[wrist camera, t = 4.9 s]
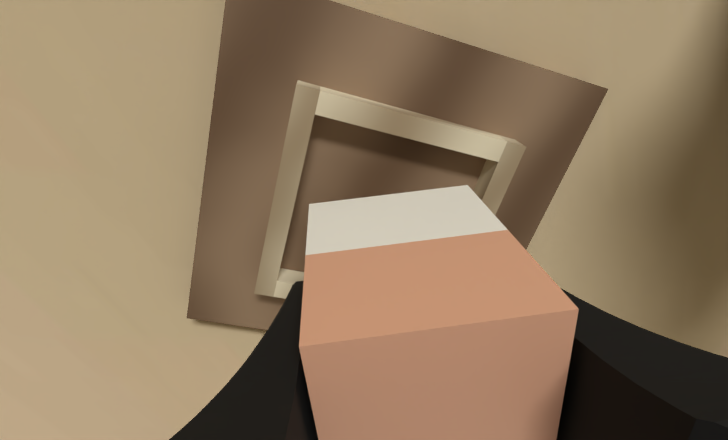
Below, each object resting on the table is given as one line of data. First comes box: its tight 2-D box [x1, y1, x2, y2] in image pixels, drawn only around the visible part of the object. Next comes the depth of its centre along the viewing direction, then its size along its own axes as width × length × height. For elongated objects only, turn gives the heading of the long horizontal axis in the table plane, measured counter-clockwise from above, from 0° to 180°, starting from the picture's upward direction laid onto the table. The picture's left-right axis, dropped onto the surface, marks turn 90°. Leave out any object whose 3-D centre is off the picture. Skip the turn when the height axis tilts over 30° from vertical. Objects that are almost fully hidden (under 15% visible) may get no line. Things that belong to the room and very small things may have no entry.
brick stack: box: [299, 185, 579, 440], centre depth 11 cm, size 5×5×6 cm
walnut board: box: [187, 0, 608, 330], centre depth 17 cm, size 14×14×2 cm
